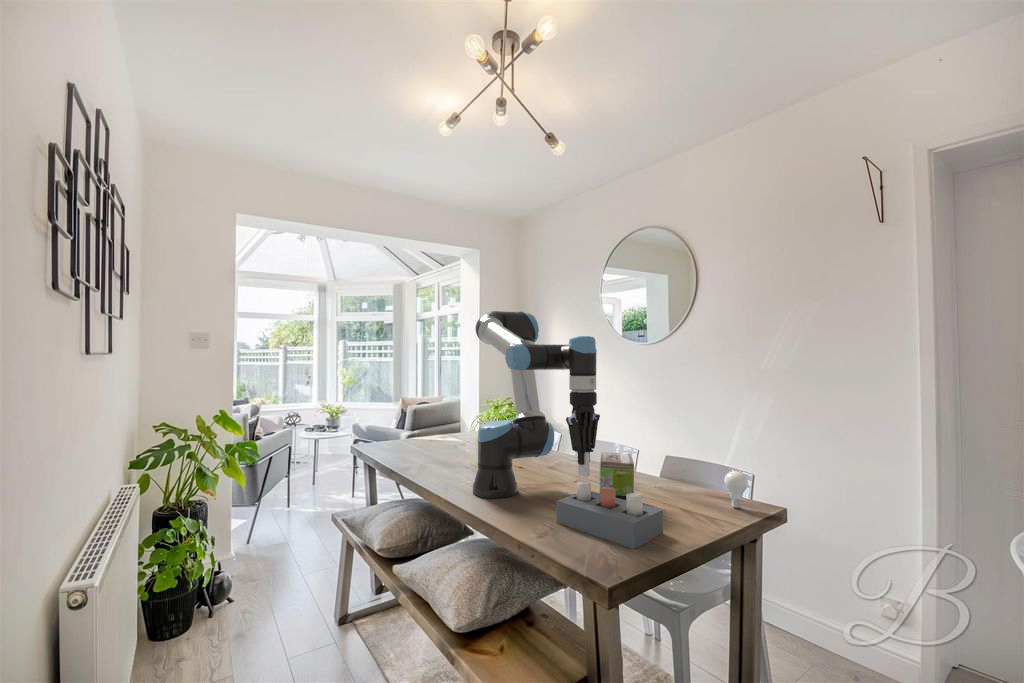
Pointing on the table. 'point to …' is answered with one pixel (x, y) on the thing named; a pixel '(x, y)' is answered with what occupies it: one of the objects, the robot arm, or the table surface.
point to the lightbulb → (736, 487)
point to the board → (610, 520)
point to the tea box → (617, 473)
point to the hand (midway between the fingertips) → (584, 475)
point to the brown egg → (607, 497)
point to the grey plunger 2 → (634, 504)
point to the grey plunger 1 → (583, 491)
